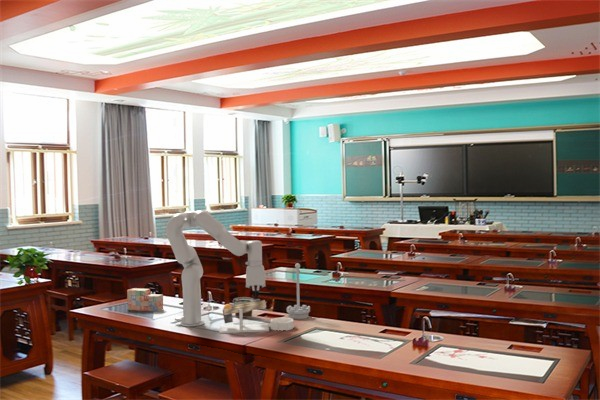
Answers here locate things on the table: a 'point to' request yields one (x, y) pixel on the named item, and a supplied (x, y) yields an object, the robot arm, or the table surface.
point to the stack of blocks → (144, 300)
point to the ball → (227, 306)
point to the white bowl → (282, 324)
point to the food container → (243, 301)
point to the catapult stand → (243, 326)
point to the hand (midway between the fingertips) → (255, 297)
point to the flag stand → (298, 303)
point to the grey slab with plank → (245, 307)
